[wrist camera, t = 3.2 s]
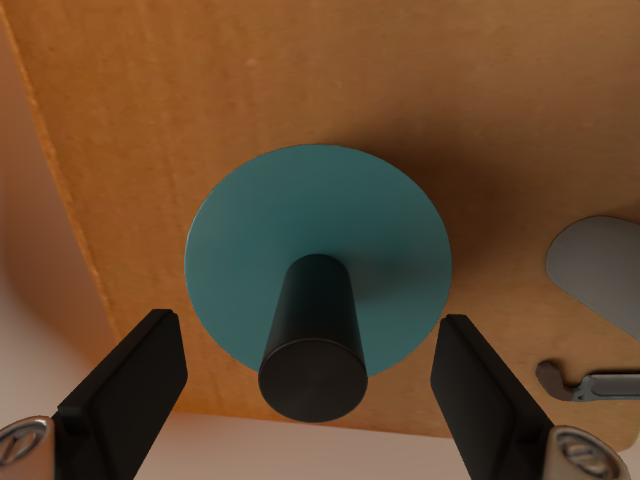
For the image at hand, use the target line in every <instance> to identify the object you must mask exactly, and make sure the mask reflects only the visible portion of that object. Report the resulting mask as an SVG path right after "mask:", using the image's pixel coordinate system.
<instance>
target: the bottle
mask: <svg viewBox="0 0 640 480" xmlns="http://www.w3.org/2000/svg"><path fill="white" fill-rule="evenodd" d="M545 267H546V272H547V275H548V277H549V278H550V280H551V281H552V282H553V283H554V284H555V285H556V286H558V287H559V288H560V289H562V290H563V291H565V292H566V293H567V294H569V295H570V296H572V297H573V298H575V299H576V300H578V301H579V302H581V303H582V304H584V305H585V306H587V307H588V308H590V309H591V310H593V311H594V312H596V313H597V314H599V315H600V316H602V317H603V318H605V319H606V320H608V321H609V322H611V323H612V324H614V325H615V326H617V327H618V328H620V329H621V330H623V331H624V332H626V333H627V334H629V335H630V336H632V337H633V338H635V339H636V340H638V341H639V342H640V225H638V224H635V223H631V222H628V221H624V220H621V219H617V218H613V217H606V216H595V217H589V218H586V219H582V220H580V221H578V222H576V223H574V224H572V225H570V226H569V227H567V228H566V229H565V230H564V231H563V232H561V233H560V234H559V235H558V236H557V237H556V238H555V240H554V241H553V242H552V244H551V246H550V248H549V250H548V253H547V256H546V263H545Z"/></svg>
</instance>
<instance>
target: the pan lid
mask: <svg viewBox="0 0 640 480" xmlns="http://www.w3.org/2000/svg"><path fill="white" fill-rule="evenodd" d="M184 270H185V281H186V285H187V290H188V294H189V297H190V300H191V303H192V305H193V308H194V310H195V312H196V314H197V316H198V318H199V320H200V321H201V323H202V325H203V326H204V328H205V329H206V330H207V332H208V333H209V334H210V336H211V337H212V338H213V339H214V340H215V341H216V342H217V343H218V345H219V346H220V347H221V348H223V349H224V350H225V351H226V352H227V353H228V354H230V355H231V356H232V357H233V358H235V359H236V360H238V361H239V362H241V363H242V364H244V365H245V366H247V367H249V368H251V369H253V370H255V371H257V372H259V374H258V383H259V388H260V391H261V394H262V396H263V398H264V399H265V401H266V402H267V403H268V404H269V405H270V407H271V408H273V409H274V410H275V411H276V412H278V413H279V414H281V415H283V416H285V417H287V418H290V419H292V420H296V421H299V422H305V423H322V422H328V421H333V420H336V419H339V418H341V417H343V416H345V415H347V414H348V413H350V412H351V411H352V410H354V409H355V408H356V407H357V406H358V405H359V403H360V402H361V401H362V399H363V397H364V395H365V392H366V390H367V385H368V377H370V376H373V375H375V374H378V373H380V372H382V371H384V370H386V369H388V368H390V367H391V366H393V365H395V364H396V363H398V362H400V361H401V360H402V359H404V358H405V357H406V356H407V355H409V354H410V353H411V352H413V351H414V350H415V349H416V348H417V347H418V346H419V345H420V344H421V343H422V342H423V341H424V339H425V338H426V337H427V336H428V334H429V333H430V332H431V330H432V329H433V327H434V326H435V324H436V322H437V321H438V319H439V317H440V316H441V313H442V311H443V309H444V306H445V304H446V301H447V298H448V294H449V290H450V286H451V277H452V253H451V247H450V242H449V237H448V234H447V231H446V229H445V226H444V223H443V221H442V219H441V217H440V215H439V213H438V211H437V209H436V207H435V206H434V204H433V203H432V202H431V200H430V199H429V197H428V196H427V195H426V193H425V192H424V191H423V190H422V189H421V188H420V187H419V186H418V185H417V184H416V183H415V182H414V181H413V180H412V179H411V178H410V177H409V176H407V175H406V174H405V173H403V172H402V171H401V170H399V169H398V168H397V167H395V166H393V165H391V164H390V163H388V162H386V161H384V160H382V159H381V158H379V157H376V156H374V155H371V154H369V153H366V152H363V151H361V150H357V149H353V148H349V147H344V146H340V145H329V144H304V145H296V146H290V147H285V148H280V149H277V150H274V151H271V152H269V153H266V154H263V155H260V156H258V157H256V158H254V159H252V160H250V161H248V162H246V163H244V164H242V165H241V166H240V167H238V168H237V169H235V170H234V171H233V172H231V173H230V174H228V175H227V176H226V177H225V178H224V179H223V180H222V181H221V182H220V183H219V184H217V185H216V186H215V187H214V188H213V190H212V191H211V192H210V194H209V195H208V196H207V197H206V199H205V200H204V201H203V203H202V205H201V206H200V208H199V210H198V212H197V213H196V215H195V217H194V220H193V222H192V225H191V228H190V230H189V233H188V238H187V242H186V247H185V259H184Z"/></svg>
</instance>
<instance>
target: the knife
mask: <svg viewBox="0 0 640 480" xmlns="http://www.w3.org/2000/svg"><path fill="white" fill-rule="evenodd" d="M536 375H537V378H538V380H539V382H540V383H541V385H542V386H543V388H544V389H545V390H546V392H547V393H548V394H549V395H550V396H552V397H554V398H556V399H559V400H562V401H574V402H588V401H595V400H640V374H631V375H587V376H586V377H584V379H583V381H582V383H581V385H580V386H579V387H576V388H570V387H567V386H564V385H563V382H562V376H561V373H560V370H559V368H558V366H557V365H555V364H553V363H550V362H544V363H541V364H538V367H537V370H536ZM581 394H582V395H581ZM580 395H581V396H580ZM578 396H579V397H578Z"/></svg>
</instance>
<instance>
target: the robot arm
mask: <svg viewBox="0 0 640 480" xmlns="http://www.w3.org/2000/svg"><path fill="white" fill-rule="evenodd" d="M187 377H188V372H187V366H186V360H185V355H184V349H183V343H182V337H181V331H180V325H179V319H178V315H177V314H176V313H173V311H172V310H171V309H153V310H152V311H150V312H149V314H148V315H147V316H146V317H145V318H144V319H143V320H142V321H141V322H140V323H139V324H138V325H137V326H136V327H135V328H134V329H133V330H132V331H131V332H130V333H129V334H128V335H127V336H126V337H125V338H124V339H123V340H122V341H121V342H120V343H119V344H118V345H117V346H116V347H115V348H114V349H113V350H112V351H111V352H110V353H109V354H108V355H107V356H106V358H104V359H103V360H102V362H101V363H100V364H99V365H98V366H97V367H96V368H95V369H94V370H93V371H92V372H91V373H90V374H89V375H88V376H87V377H86V378H85V379H84V380H83V381H82V382H81V383H80V384H79V385H78V386H77V387H76V388H75V389H74V390H73V391H72V392H71V393H70V394H69V395H68V396H67V398H65V399H64V400H63V402H62V403H60V404H59V406H57V408H58V411H57V412H56V413H55V414H54V415H53V416H52V417H51V418H49V417H48V416H40V415H39V416H33V417H28V418H25V419H22V420H19V421H16V422H14V423H12V424H10V425H8V426H6V427H4V428H3V429H1V430H0V480H133V479H134V477H135V476H136V474H137V472H138V470H139V468H140V466H141V465H142V463H143V461H144V459H145V457H146V456H147V454H148V452H149V450H150V448H151V446H152V445H153V443H154V441H155V439H156V437H157V436H158V434H159V432H160V430H161V428H162V426H163V425H164V423H165V421H166V419H167V417H168V416H169V414H170V412H171V410H172V408H173V406H174V405H175V403H176V401H177V399H178V397H179V396H180V394H181V392H182V390H183V388H184V386H185V384H186V382H187ZM430 382H431V387H432V390H433V393H434V395H435V397H436V399H437V402H438V404H439V406H440V409H441V411H442V413H443V416H444V418H445V420H446V422H447V425H448V427H449V429H450V432H451V434H452V436H453V438H454V441H455V443H456V445H457V447H458V450H459V452H460V454H461V457H462V459H463V461H464V463H465V466H466V468H467V471H468V473H469V475H470V477H471V480H631V478H630V474H629V471H628V469H627V466H626V465H625V463H624V462H623V460H622V459H621V457H620V456H619V455H618V454H617V453H616V452H615V451H614V450H613V449H612V448H611V447H610V446H608V445H607V444H606V443H604V442H603V441H602V440H600V439H599V438H597V437H595V436H594V435H592V434H590V433H588V432H587V431H584V430H581V429H579V428H576V427H573V426H567V425H557V426H555V425H554V424H553V423H552V422H551V420H550V419H549V418H548V417H547V415H546V414H545V412H544V411H543V410H542V409H541V408H540V406H539V405H538V404H537V403H536V401H535V400H534V399H533V398H532V396H531V395H530V394H529V393H528V391H527V390H526V389H525V388H524V386H523V385H522V384H521V383H520V381H519V380H518V379H517V378H516V377H515V375H514V374H513V373H512V372H511V370H510V369H509V368H508V367H507V365H506V364H505V363H504V362H503V360H502V359H501V358H500V357H499V355H498V354H497V353H496V352H495V350H494V349H493V348H492V347H491V346H490V344H489V343H488V342H487V341H486V339H485V338H484V337H483V336H482V334H481V333H480V332H479V331H478V329H477V328H476V327H475V326H474V324H473V323H472V322H471V321H470V319H469V318H468V317H467V316H466V315H462V314H448V315H447V316H446V318H443V319H442V320H441V322H440V328H439V333H438V339H437V344H436V350H435V356H434V361H433V367H432V372H431V378H430Z"/></svg>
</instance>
